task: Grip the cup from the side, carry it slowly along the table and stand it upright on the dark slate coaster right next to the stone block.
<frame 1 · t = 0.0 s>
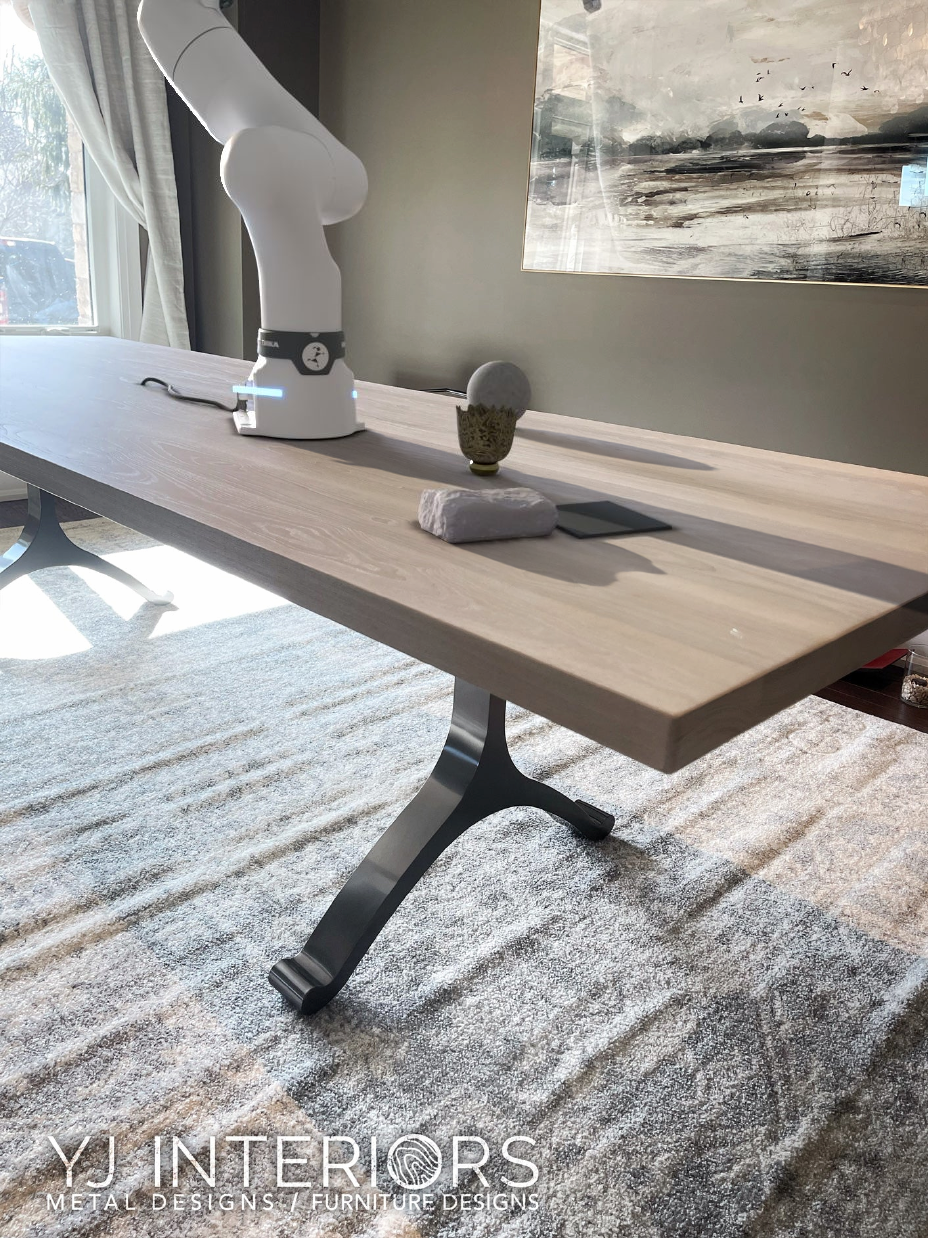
slate coaster: (594, 519, 97), on the table
stone block: (482, 529, 92), on the table
decorative ball: (497, 427, 149), on the table
cup: (483, 475, 115), on the table
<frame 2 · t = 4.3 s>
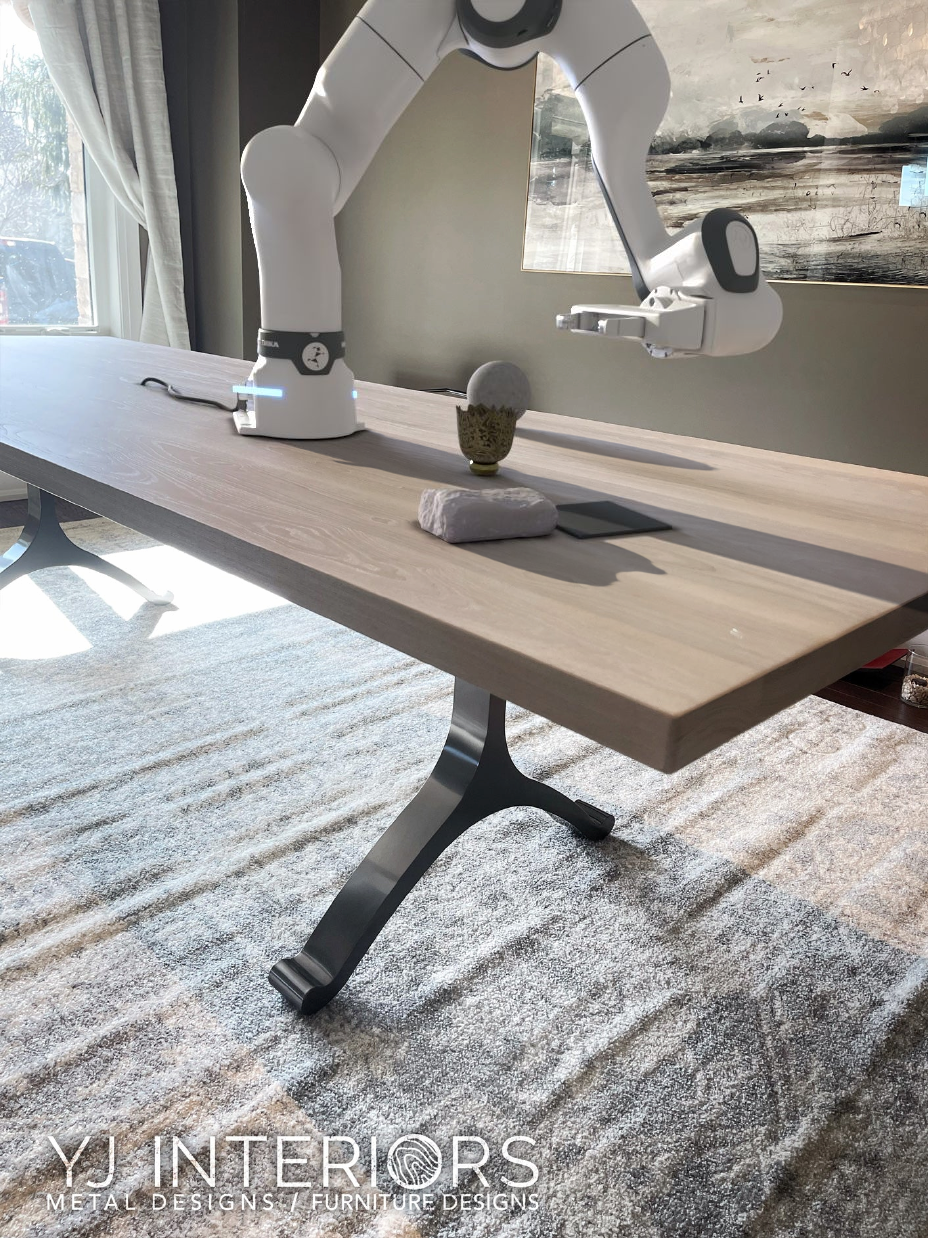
hand: (580, 324, 115), 18 cm above the table, tool horizontal, fingers open, 8 cm apart
nothing on the table moved.
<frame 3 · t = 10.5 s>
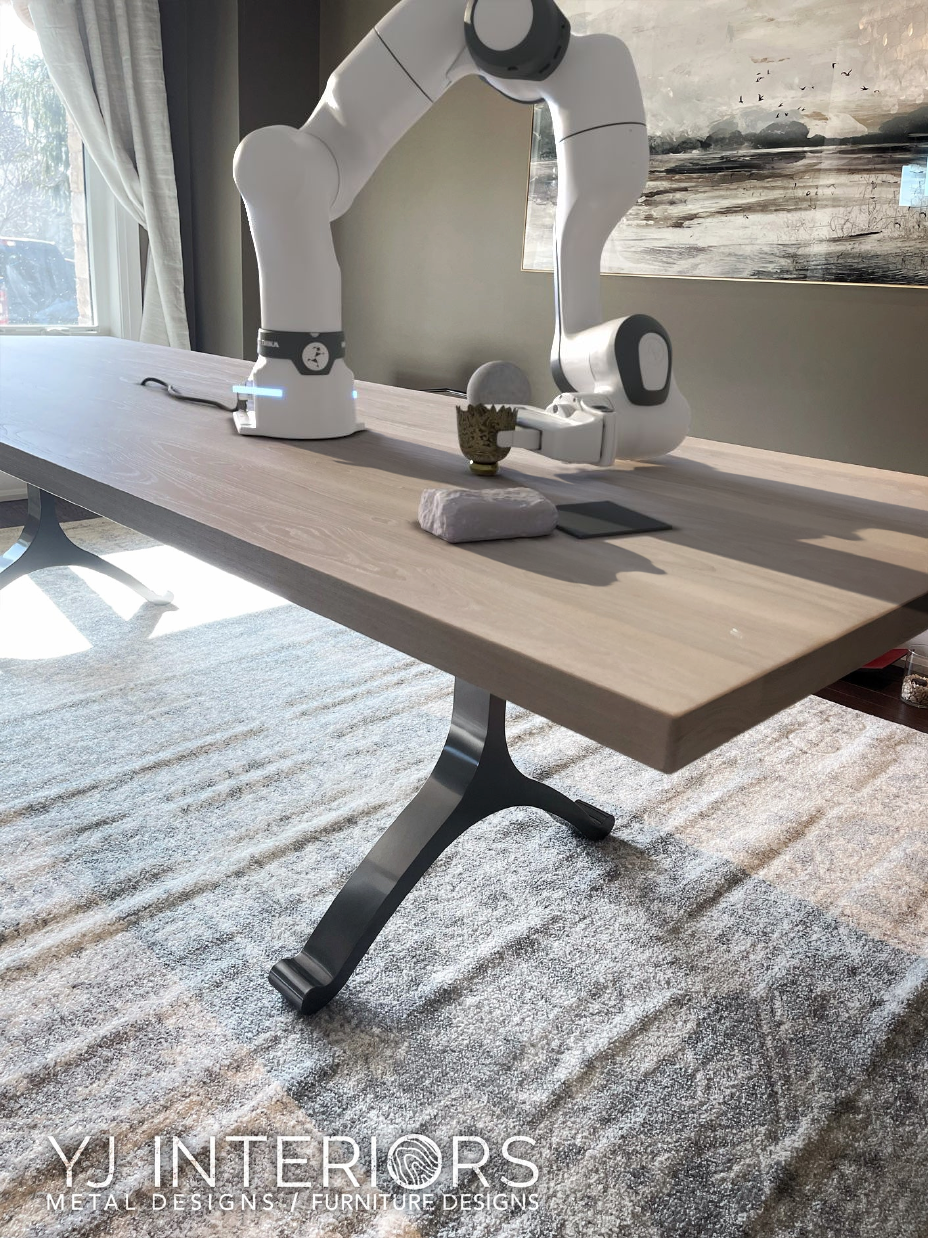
hand: (479, 432, 113), 5 cm above the table, tool horizontal, fingers closed on cup, 7 cm apart
cup: (483, 475, 115), on the table, touching gripper
everything else where it was.
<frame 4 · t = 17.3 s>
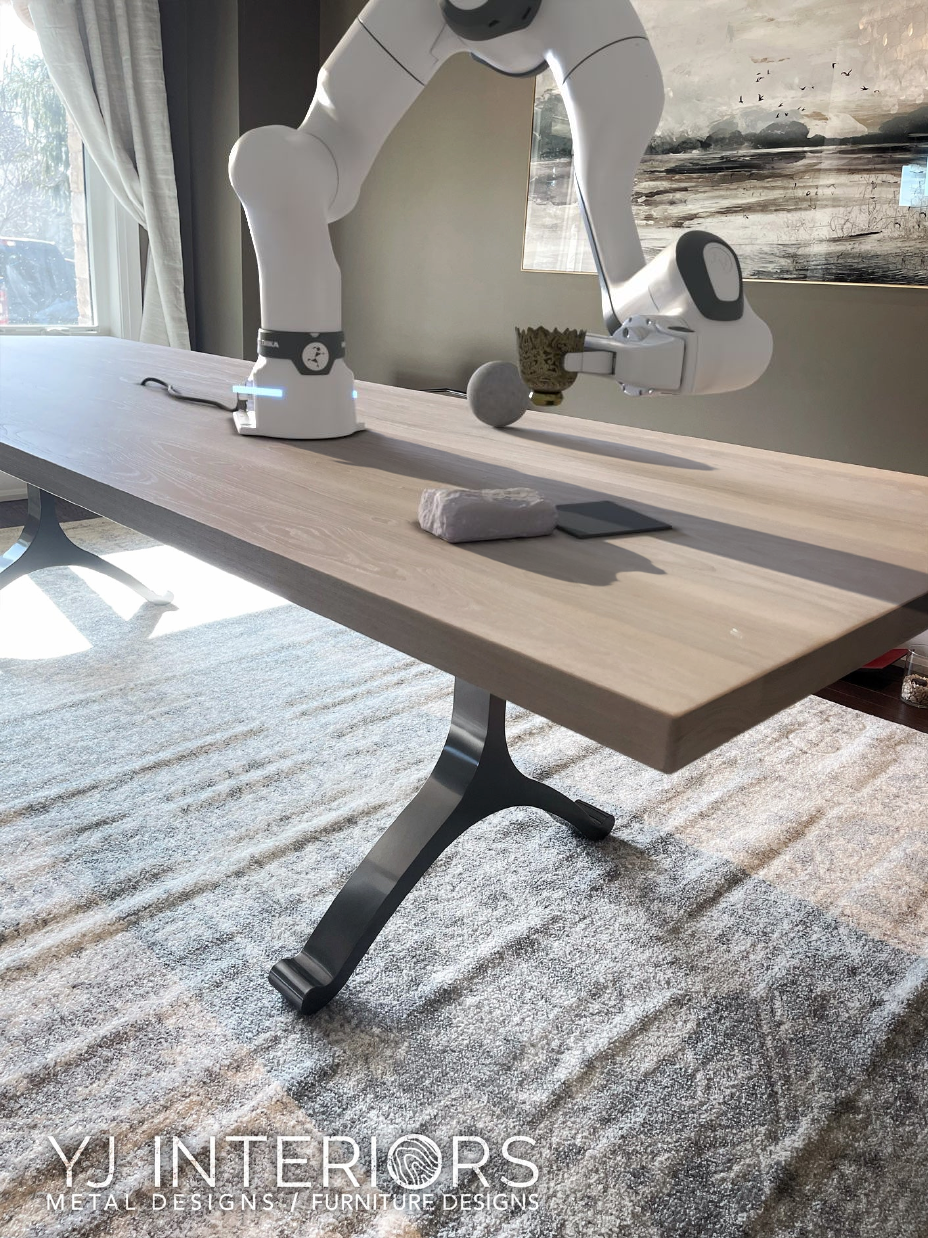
hand: (542, 357, 100), 15 cm above the table, tool horizontal, fingers closed on cup, 7 cm apart
cup: (546, 407, 102), point 10 cm above the table, touching gripper
everything else where it was.
when the fingers open (5 cm above the table, at t = 24.5 s): cup stays where it is, resting on slate coaster.
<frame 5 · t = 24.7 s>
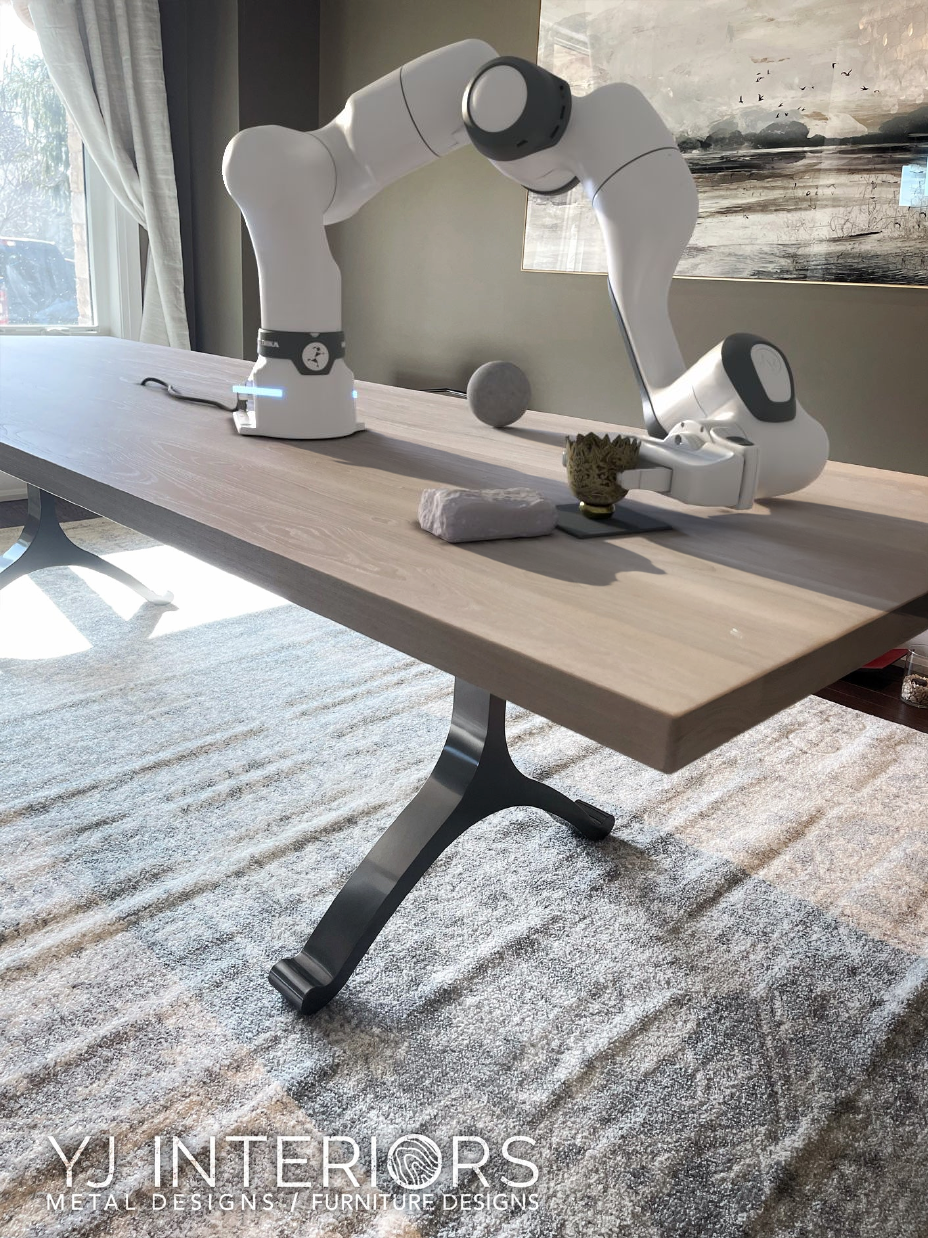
hand: (592, 469, 94), 5 cm above the table, tool horizontal, fingers open, 8 cm apart
cup: (595, 518, 97), resting on slate coaster
everything else where it was.
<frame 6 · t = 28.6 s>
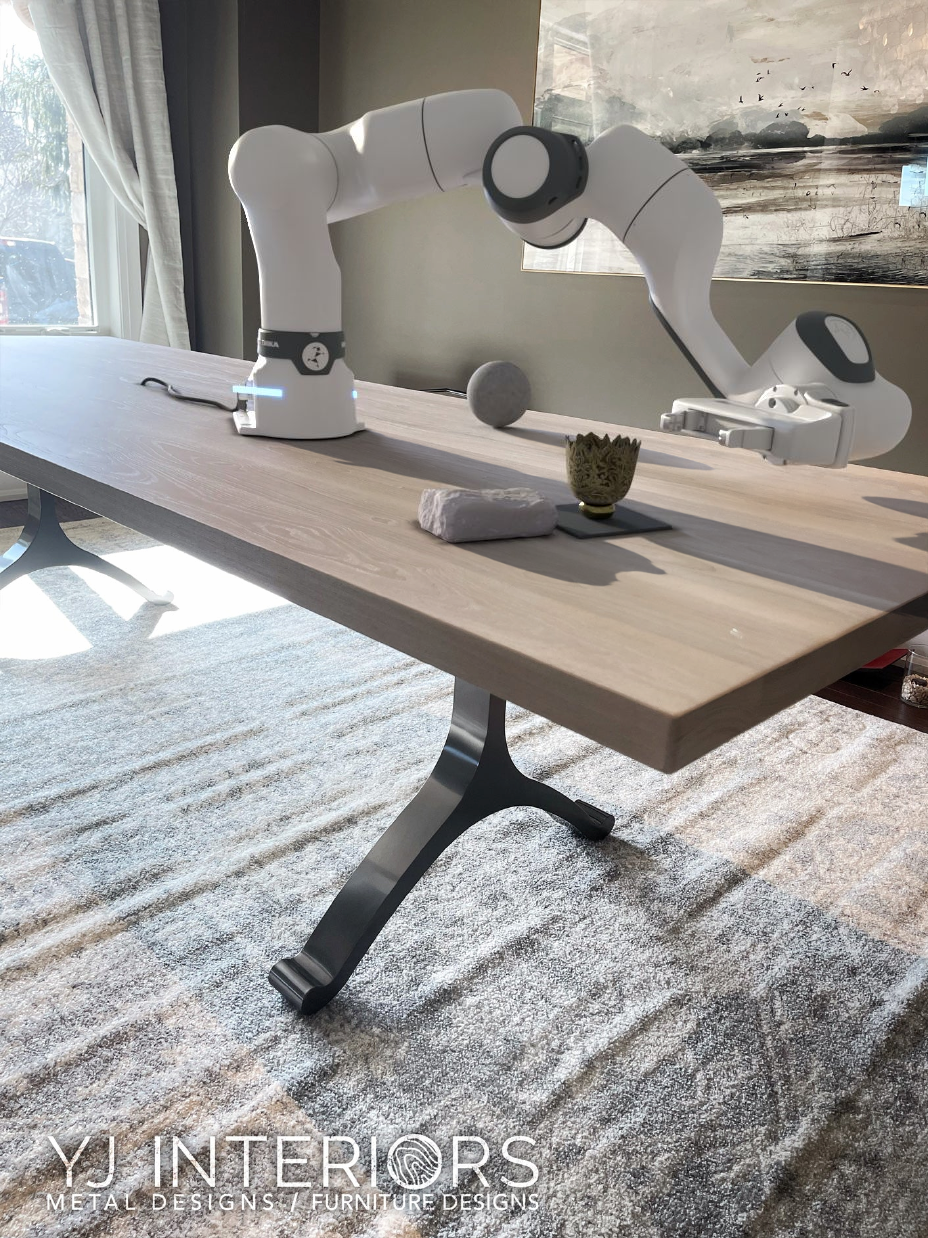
hand: (693, 429, 99), 9 cm above the table, tool horizontal, fingers open, 8 cm apart
nothing on the table moved.
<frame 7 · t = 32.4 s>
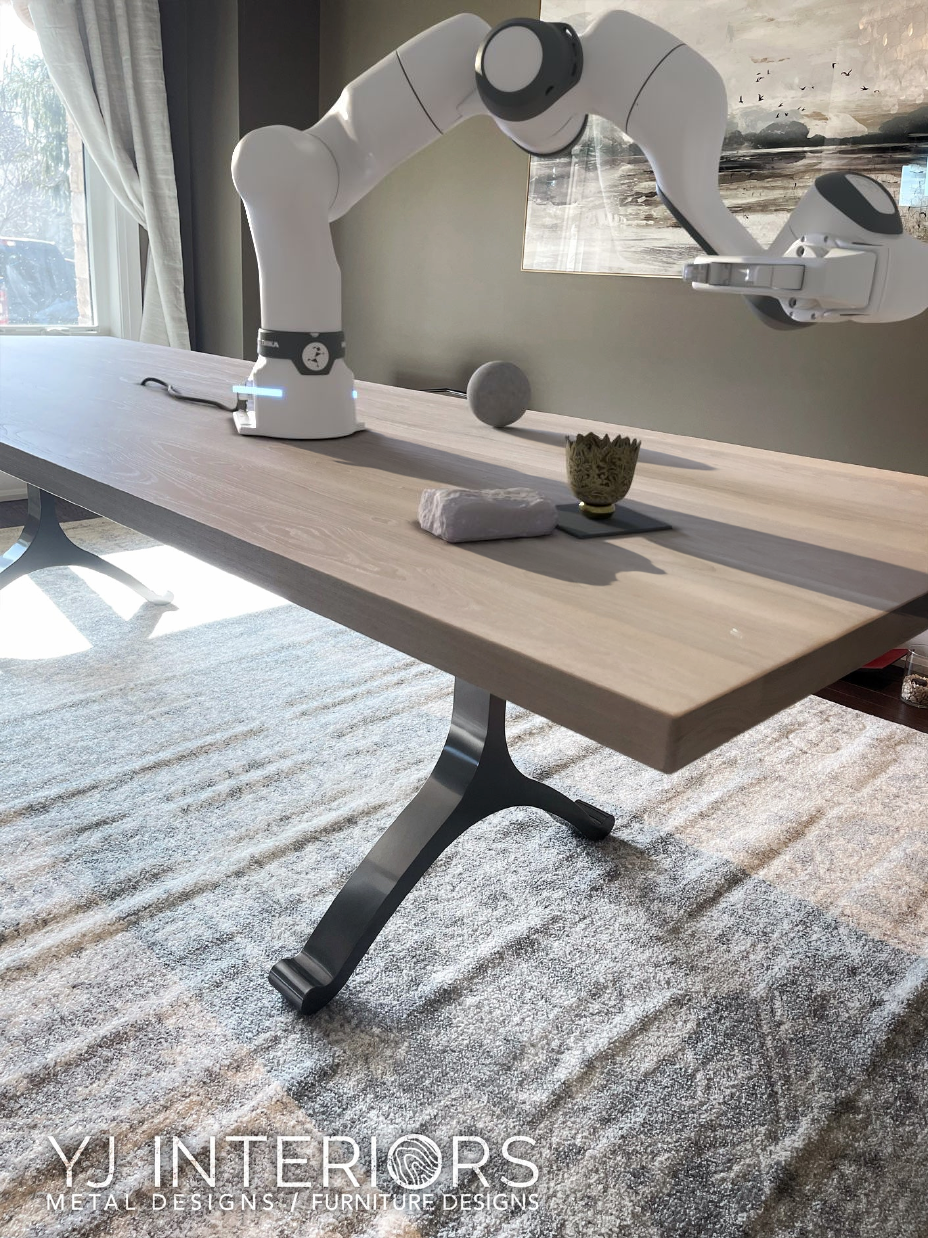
hand: (718, 273, 94), 24 cm above the table, tool horizontal, fingers open, 8 cm apart
nothing on the table moved.
at the end: cup inside the target area on the table beside the stone block (0.7 cm from its centre), resting on slate coaster; cup tilted 0°; the gripper is holding nothing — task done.
